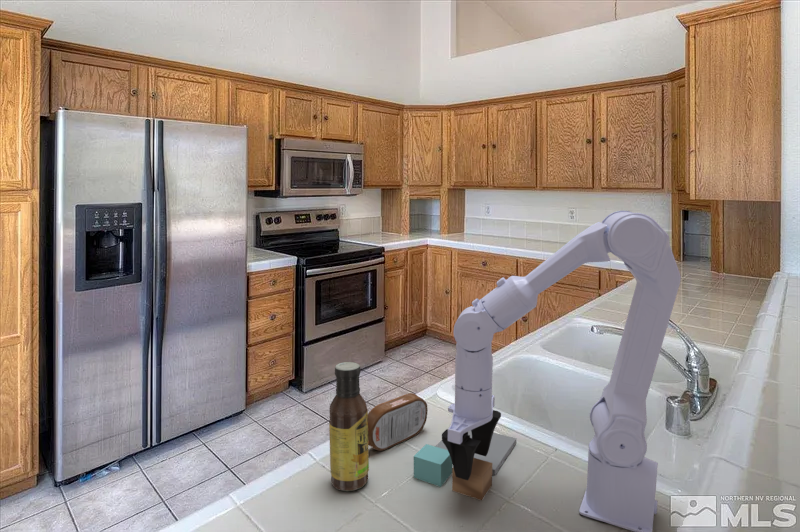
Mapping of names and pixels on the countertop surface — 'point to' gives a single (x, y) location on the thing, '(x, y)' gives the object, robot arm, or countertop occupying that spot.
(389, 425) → the tin
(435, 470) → the teal brick
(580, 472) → the countertop surface
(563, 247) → the robot arm
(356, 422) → the sauce bottle
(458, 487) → the walnut brick
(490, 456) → the baseplate
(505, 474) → the countertop surface
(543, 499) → the countertop surface
